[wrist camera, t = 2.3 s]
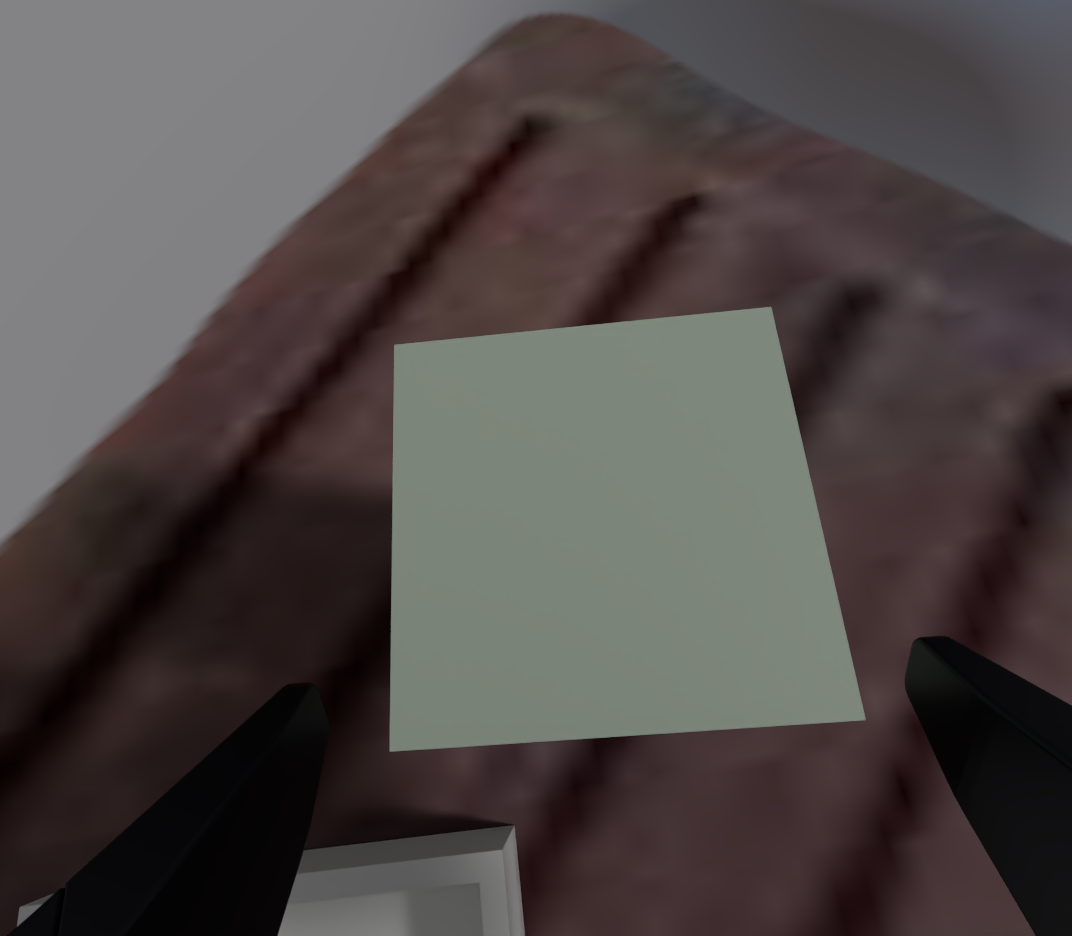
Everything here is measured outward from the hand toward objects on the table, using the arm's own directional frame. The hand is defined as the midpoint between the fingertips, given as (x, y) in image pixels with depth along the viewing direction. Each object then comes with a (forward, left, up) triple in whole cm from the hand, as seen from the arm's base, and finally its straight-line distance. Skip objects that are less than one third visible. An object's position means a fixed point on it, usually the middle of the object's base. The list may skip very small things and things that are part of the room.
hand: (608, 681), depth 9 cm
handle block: (+2, +1, -9) cm, 9 cm away
